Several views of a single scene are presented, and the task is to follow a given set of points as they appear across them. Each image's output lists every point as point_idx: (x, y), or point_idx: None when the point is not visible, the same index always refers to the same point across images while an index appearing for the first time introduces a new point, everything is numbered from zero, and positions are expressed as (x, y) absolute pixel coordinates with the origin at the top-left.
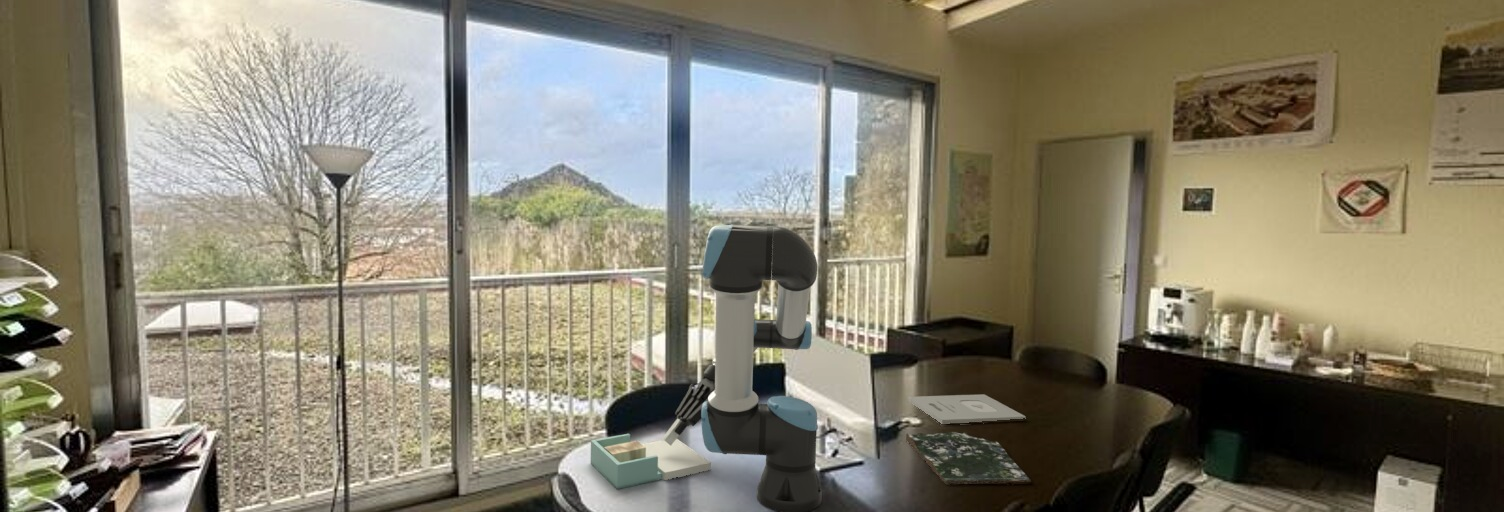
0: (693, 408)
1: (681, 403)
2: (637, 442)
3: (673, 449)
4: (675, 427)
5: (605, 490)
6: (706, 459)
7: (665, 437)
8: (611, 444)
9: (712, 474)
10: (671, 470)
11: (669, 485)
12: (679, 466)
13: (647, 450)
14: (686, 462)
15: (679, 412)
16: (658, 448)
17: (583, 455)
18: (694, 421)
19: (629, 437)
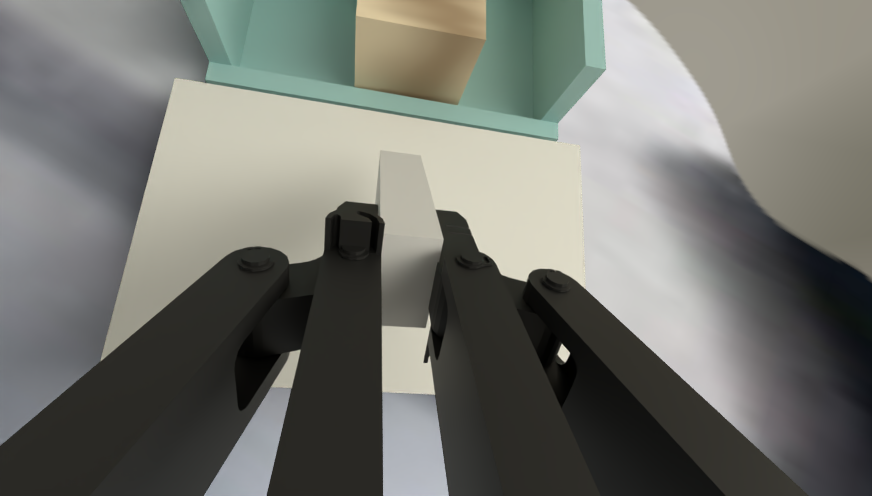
0: (293, 395)
1: (659, 374)
2: (455, 26)
3: None
4: (379, 203)
5: None
6: None
7: (391, 156)
8: (564, 2)
9: (61, 350)
10: (174, 118)
11: (125, 90)
12: (191, 181)
13: (491, 170)
14: (211, 245)
15: (532, 304)
16: (487, 229)
17: (620, 14)
18: (243, 358)
19: (577, 72)
